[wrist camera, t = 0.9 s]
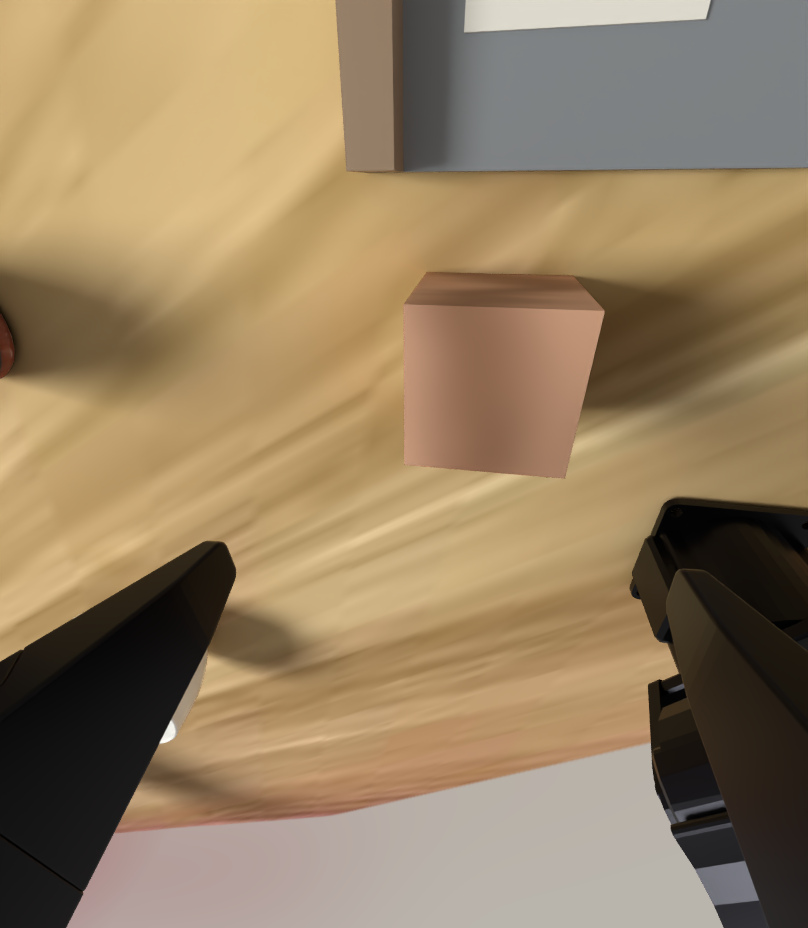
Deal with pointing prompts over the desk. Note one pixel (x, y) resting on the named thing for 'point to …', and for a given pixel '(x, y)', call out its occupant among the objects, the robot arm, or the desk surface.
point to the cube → (496, 371)
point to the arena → (573, 84)
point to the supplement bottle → (5, 348)
